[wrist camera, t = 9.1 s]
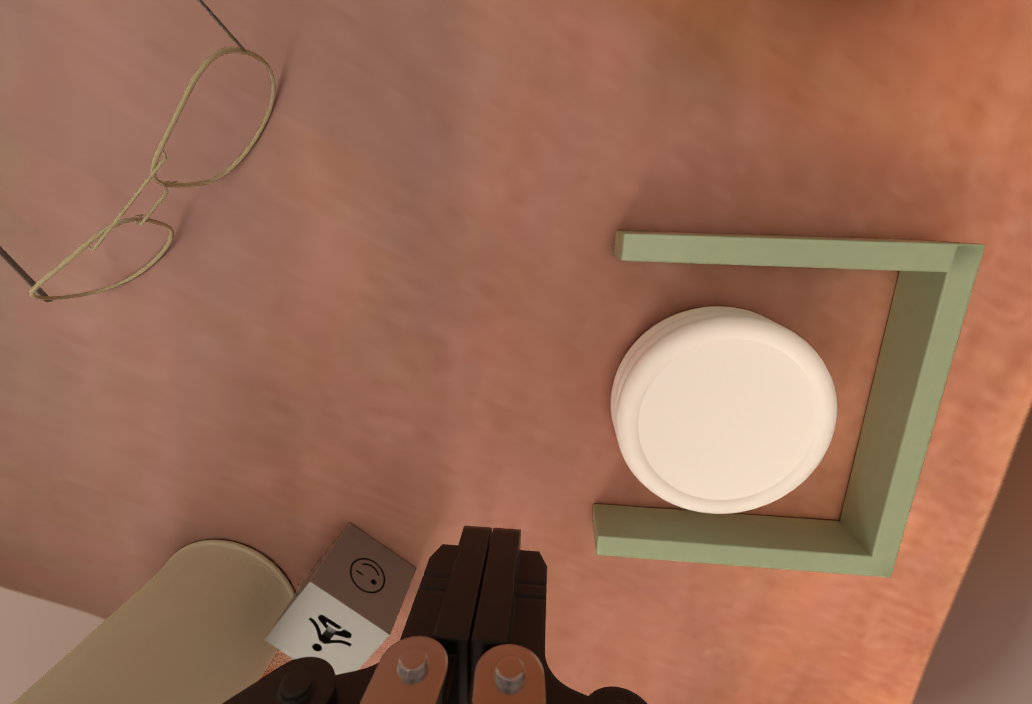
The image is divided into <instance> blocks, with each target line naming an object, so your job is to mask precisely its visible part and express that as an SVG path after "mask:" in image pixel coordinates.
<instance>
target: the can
mask: <svg viewBox="0 0 1032 704" xmlns="http://www.w3.org/2000/svg"><path fill="white" fill-rule="evenodd" d="M294 595H295V594H294V591H293V588H292V586H291V584H290V583H289V581H288V579H287V578H286V576H285V575H284V574H283V572H282V571H281V570H280V569H279V568H278V567H277V566H276V565H275V564H274V563H273V562H272V561H271V560H269V559H268V558H267V557H265V556H264V555H262V554H261V553H259V552H257V551H256V550H254V549H252V548H250V547H247V546H245V545H242V544H239V543H235V542H231V541H226V540H204V541H198V542H195V543H192V544H189V545H187V546H185V547H183V548H181V549H180V550H178V551H177V552H176V553H175V554H174V555H173V556H172V557H171V558H170V559H169V560H168V561H167V563H166V564H165V566H164V567H163V568H162V569H161V570H159V571H158V572H157V573H156V574H155V575H154V576H153V577H152V578H151V579H150V580H149V581H148V582H147V583H146V584H145V585H144V586H142V587H141V588H140V589H139V590H138V591H137V592H136V593H135V594H134V595H133V596H132V597H131V598H129V599H128V600H127V601H126V602H125V603H124V604H123V605H122V606H121V607H120V608H118V609H117V610H116V611H115V612H114V613H113V614H112V615H111V616H110V617H108V618H107V619H106V620H105V621H104V622H103V623H102V624H101V625H100V626H98V627H97V629H95V630H94V631H93V632H92V633H91V634H90V635H89V636H87V637H86V638H85V639H84V640H83V641H82V642H81V643H80V644H79V645H78V646H76V647H75V648H74V649H73V650H72V651H71V652H70V653H69V654H68V655H66V656H65V657H64V658H63V659H62V660H61V661H60V662H58V663H57V664H56V665H55V666H54V667H53V668H52V669H51V670H49V671H48V672H47V673H46V674H45V675H44V676H43V677H42V678H41V679H40V680H38V681H37V682H36V683H35V684H34V685H33V686H31V687H30V688H29V689H28V690H27V691H26V692H25V693H24V694H23V695H21V696H20V697H19V698H18V699H17V700H16V701H15V702H13V703H12V704H222V703H224V702H225V701H227V700H228V699H230V698H232V697H233V696H235V695H236V694H238V693H239V692H241V691H243V690H244V689H246V688H247V687H249V686H250V685H252V684H254V683H255V682H257V681H258V680H260V678H261V677H262V675H263V674H264V672H265V670H266V669H267V667H268V666H269V664H270V663H271V661H272V660H273V658H274V657H275V655H276V654H277V652H278V651H279V649H277V648H276V647H274V646H272V645H271V644H269V643H268V642H266V641H265V640H264V639H265V637H266V636H267V634H268V633H269V631H270V630H271V628H272V627H273V625H274V624H275V623H276V621H277V620H278V618H279V617H280V615H281V614H282V612H283V611H284V609H285V608H286V607H287V605H288V604H289V602H290V601H291V599H292V598H293V596H294Z"/></svg>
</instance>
